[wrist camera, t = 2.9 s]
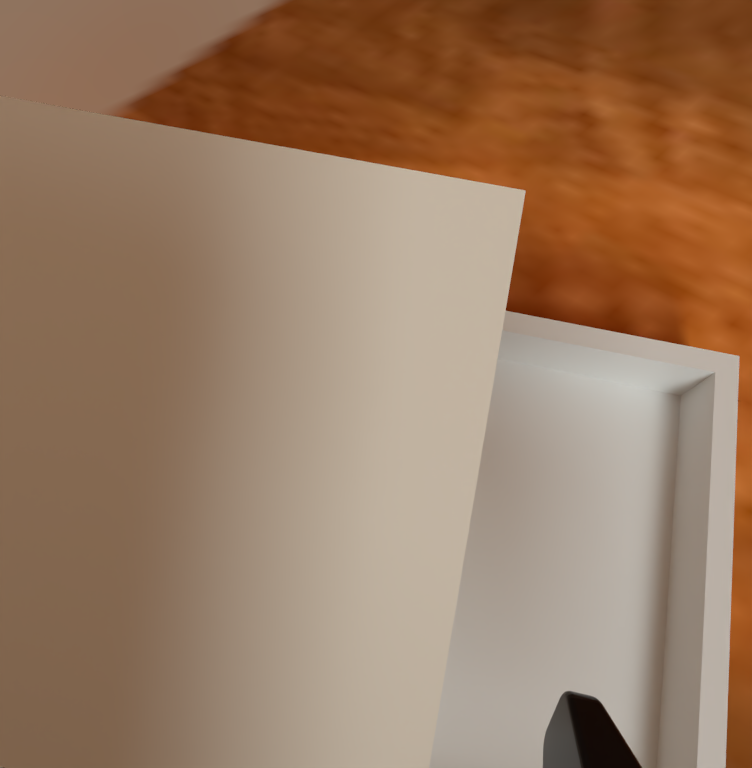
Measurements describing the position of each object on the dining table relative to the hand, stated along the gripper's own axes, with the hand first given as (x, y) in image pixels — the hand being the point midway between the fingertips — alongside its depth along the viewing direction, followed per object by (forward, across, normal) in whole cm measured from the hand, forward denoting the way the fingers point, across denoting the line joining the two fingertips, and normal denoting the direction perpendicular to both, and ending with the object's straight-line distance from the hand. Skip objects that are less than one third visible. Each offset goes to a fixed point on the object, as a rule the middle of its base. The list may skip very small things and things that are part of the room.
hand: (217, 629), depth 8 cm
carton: (+7, 0, +5) cm, 9 cm away
